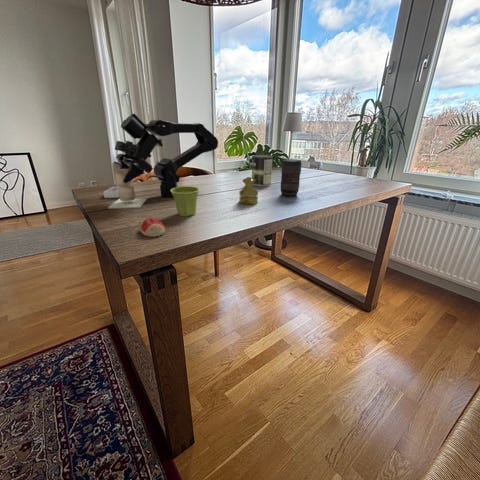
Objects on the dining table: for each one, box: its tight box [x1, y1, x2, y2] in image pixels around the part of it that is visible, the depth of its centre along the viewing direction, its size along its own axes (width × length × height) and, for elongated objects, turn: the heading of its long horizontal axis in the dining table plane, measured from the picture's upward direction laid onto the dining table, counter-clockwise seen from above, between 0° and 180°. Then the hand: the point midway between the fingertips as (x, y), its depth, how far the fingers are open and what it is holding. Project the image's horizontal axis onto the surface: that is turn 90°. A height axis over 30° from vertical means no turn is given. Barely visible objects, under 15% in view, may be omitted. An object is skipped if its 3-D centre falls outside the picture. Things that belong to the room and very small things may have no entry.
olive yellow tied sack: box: [239, 176, 259, 206], centre depth 102 cm, size 7×8×10 cm
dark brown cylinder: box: [280, 159, 303, 198], centre depth 111 cm, size 8×8×15 cm
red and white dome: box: [140, 217, 166, 238], centre depth 75 cm, size 7×10×4 cm
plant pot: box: [170, 185, 200, 217], centre depth 89 cm, size 9×9×9 cm
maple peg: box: [114, 168, 137, 201], centre depth 98 cm, size 6×6×11 cm
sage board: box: [107, 198, 148, 210], centre depth 101 cm, size 11×11×1 cm
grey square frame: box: [102, 186, 135, 199], centre depth 112 cm, size 10×10×2 cm
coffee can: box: [251, 154, 274, 187], centre depth 131 cm, size 10×10×14 cm
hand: (121, 181), depth 96 cm, fingers closed on maple peg, 5 cm apart
